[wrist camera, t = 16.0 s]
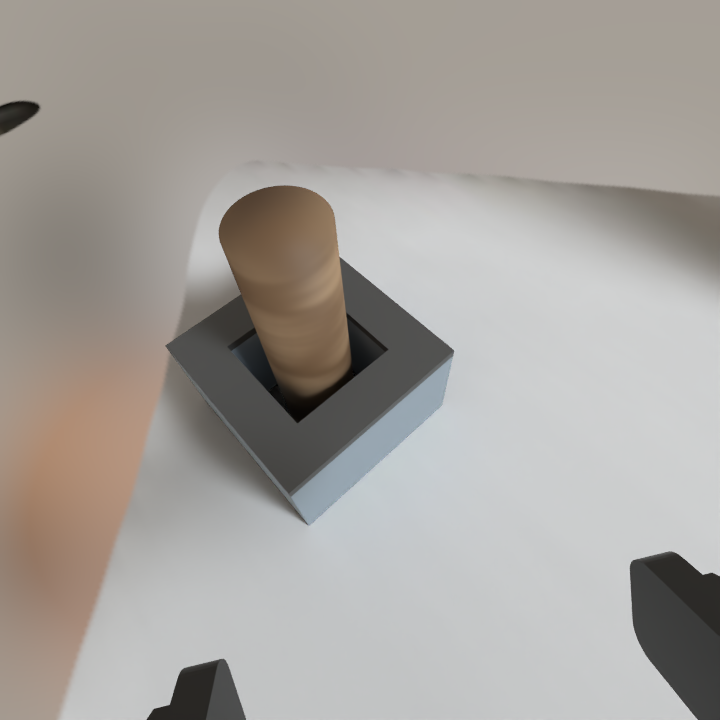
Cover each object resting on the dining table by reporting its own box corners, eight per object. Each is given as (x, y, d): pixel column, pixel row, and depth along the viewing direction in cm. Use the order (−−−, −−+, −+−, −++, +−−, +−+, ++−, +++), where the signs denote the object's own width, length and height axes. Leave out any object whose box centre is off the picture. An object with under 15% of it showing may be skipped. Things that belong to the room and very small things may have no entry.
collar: (330, 306, 32) (320, 241, 27) (441, 405, 28) (454, 350, 23) (204, 399, 29) (165, 345, 24) (308, 525, 25) (288, 493, 20)
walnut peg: (326, 362, 30) (287, 170, 18) (370, 404, 28) (359, 224, 16) (275, 402, 29) (196, 224, 17) (318, 448, 27) (264, 289, 15)
